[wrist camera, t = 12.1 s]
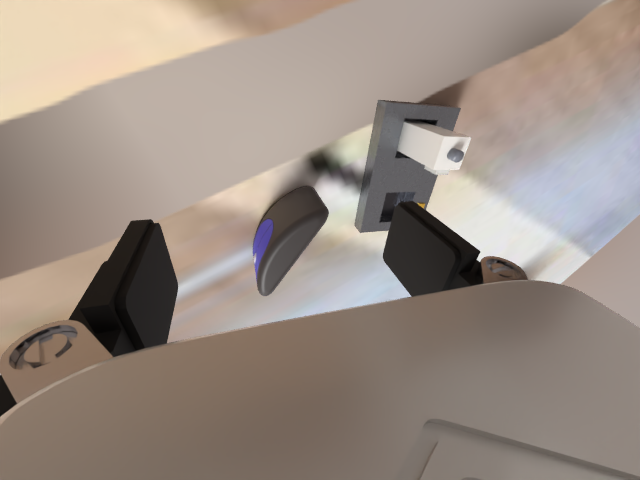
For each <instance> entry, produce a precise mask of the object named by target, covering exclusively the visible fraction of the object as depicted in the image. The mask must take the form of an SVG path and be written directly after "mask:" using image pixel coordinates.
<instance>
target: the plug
mask: <svg viewBox="0 0 640 480" xmlns="http://www.w3.org/2000/svg"><path fill="white" fill-rule="evenodd" d="M470 140H471V137H469V136H466V135H463V134H460V133H456V132H453V131H450V130H447V129H444V128H441V127H438V126H435V125H432V124H428V123H425V122H419V121H404V123H403V127H402V131H401V136H400V140H399V144H398V148H397V151H399V152H401V153H403V154H405V155H406V156H408V157H410V158H412V159H414V160H416V161H418V162H419V163H421V164H423V165H425V168H424V169H426V170H428V171H430V172H431V173H433V174H435V175H448V173H449V170H459V169H460V166H461V163H462V161H463V158H464V156H465V153H466V150H467V148H468V145H469V143H470Z"/></svg>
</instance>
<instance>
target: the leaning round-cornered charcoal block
mask: <svg viewBox="0 0 640 480" xmlns="http://www.w3.org/2000/svg"><path fill="white" fill-rule="evenodd" d="M328 214H329V211H328V209H327V207H326V206H325V204H324V203H323V201H322V200H321V198H320V197H319V195H318V194H317V192H316V191H315V189H314V188H313V187H311V186H305V187H301V188H298V189H296V190H294V191H292V192H290V193H288V194H287V195H285V196H284V197H283V198H281V199H280V200H279V201H278V202H277V203H275V204H274V205H273V206H272V207H271V209H270V210H269V211H268V212H267V214H266V215H265V216H264V218H263V219H262V221H261V223H260V225H259V227H258V229H257V231H256V234H255V238H254V243H253V260H254V264H255V272H256V279H257V287H258V290H259V293H260V294H261V295H263V296H267V295H269V294H271V293H272V292H273V291H274V290H275V288H276V287H277V286H278V284H279V283H280V282H281V280H282V279H283V278H284V276H285V275H286V274H287V272H288V271H289V270H290V268H291V267H292V266H293V264H294V263H295V262H296V260H297V259H298V258H299V256H300V255H301V254H302V252H303V251H304V250H305V249H306V247H307V246H308V245H309V243H310V242H311V241H312V239H313V238H314V237H315V235H316V234H317V233H318V231H319V230H320V229H321V227H322V226H323V225H324V223H325V222H326V220H327V217H328ZM257 248H258V249H257Z"/></svg>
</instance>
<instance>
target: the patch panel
mask: <svg viewBox="0 0 640 480" xmlns="http://www.w3.org/2000/svg"><path fill="white" fill-rule="evenodd" d="M460 109H461V108H458V107H453V106H447V105H435V104H422V103H410V102H396V101H385V100H378V103H377V108H376V114H375V119H374V124H373V130H372V135H371V140H370V146H369V151H368V156H367V162H366V167H365V172H364V177H363V183H362V188H361V193H360V199H359V204H358V209H357V215H356V220H355V227H356V228H357V229H358V231H359V232H360V233H362V232H375V231H388V230H389V228H390V224H391V220H392V216H393V212H394V208H395V206H397V205H398V204H399V203H400V202H405V201H414V202H415V203H417V204H418V205H419V206H421V207H422V208H423V209H425V210H426V207H427V204H428V202H429V199H430V196H431V193H432V190H433V187H434V184H435V181H436V178H437V176H438V175H435V174H433V173H431V172H430V171H428V170H426V169H424V168H425V165H423V164H421V163H419V162H418V161H416V160H414V159H412V158H410V157H408V156H406V155H405V154H403V153H401V152H399V151H397V148H398V144H399V140H400V136H401V131H402V127H403V123H404V121H419V122H425V123H428V124H432V125H435V126H438V127H441V128H444V129H447V130H450V131H453V129H454V126H455V123H456V120H457V118H458V115H459V112H460Z"/></svg>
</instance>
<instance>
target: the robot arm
mask: <svg viewBox="0 0 640 480" xmlns="http://www.w3.org/2000/svg"><path fill="white" fill-rule="evenodd" d="M479 253H480V251H479V250H478V249H476V248H475V247H474V246H472V245H471V244H470V243H469V242H467V241H466V240H465V239H463V238H462V237H461V236H459V235H458V234H457V233H455V232H454V231H453V230H451V229H450V228H449V227H447V226H446V225H445V224H443V223H442V222H441V221H439V220H438V219H437V218H435V217H434V216H433V215H431V214H430V213H429V212H427V211H426V210H425V209H423V208H422V207H421V206H419V205H418V204H417V203H415V202H414V201H405V202H400V203H399V204H398V205H397V206H395V208H394V212H393V216H392V220H391V224H390V228H389V232H388V236H387V240H386V245H385V249H384V253H383V259H384V261H385V263H386V264H387V265H388V267H389V268H390V269H391V271H392V272H393V273H394V274H395V276H396V277H397V278H398V280H399V281H400V282H401V283H402V285H403V286H404V287H405V288H406V290H407V291H408V292H409V294H410V295H411V296H412V297H407V298H401V299H396V300H390V301H385V302H379V303H374V304H368V305H363V306H358V307H352V308H347V309H341V310H336V311H331V312H325V313H320V314H314V315H309V316H304V317H299V318H293V319H288V320H283V321H278V322H272V323H267V324H262V325H257V326H251V327H246V328H241V329H236V330H230V331H225V332H220V333H215V334H209V335H204V336H199V337H194V338H189V339H185V340H180V341H176V342H171V343H167V339H168V335H169V330H170V325H171V320H172V316H173V311H174V306H175V301H176V297H177V292H178V282H177V279H176V275H175V272H174V269H173V265H172V262H171V259H170V256H169V252H168V249H167V246H166V243H165V239H164V236H163V233H162V229H161V226H160V224H159V223H154V222H153V221H152V220H151V219H150V220H136V221H131V222H130V224H129V225H128V227H127V229H126V230H125V232H124V234H123V236H122V237H121V239H120V241H119V242H118V244H117V246H116V247H115V249H114V251H113V252H112V254H111V256H110V258H109V259H108V261H105V262H104V263H103V264H102V265H101V267H100V269H99V270H98V272H97V273H96V275H95V277H94V278H93V280H92V282H91V283H90V285H89V287H88V288H87V290H86V292H85V293H84V295H83V297H82V298H81V300H80V302H79V303H78V305H77V306H76V308H75V310H74V311H73V313H72V315H71V316H70V318H69V320H63V321H56V322H53V323H49V324H46V325H43V326H41V327H39V328H36V329H34V330H32V331H30V332H29V333H27V334H25V335H24V336H22V337H20V338H19V339H18V340H17V341H15V342H14V343H13V344H12V345H10V346H9V348H8V349H7V350H6V351H5V352H4V353H3V354H2V356H1V359H0V373H1V375H0V480H640V328H639V327H637V326H636V325H634V324H633V323H631V322H630V321H628V320H627V319H625V318H623V317H622V316H620V315H619V314H617V313H615V312H614V311H612V310H611V309H609V308H608V307H606V306H604V305H603V304H601V303H600V302H598V301H596V300H595V299H593V298H591V297H590V296H588V295H586V294H584V293H583V292H581V291H579V290H576V289H574V288H571V287H568V286H565V285H561V284H556V283H551V282H544V281H535V280H528V279H527V276H526V274H525V272H524V271H523V270H522V269H521V268H520V267H519V266H517V265H516V264H514V263H513V262H510V261H508V260H506V259H503V258H500V257H494V256H488V257H484V258H483V259H482V260H481V261H480V262H479V261H477V260H476V259H477V257H478V255H479Z"/></svg>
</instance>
